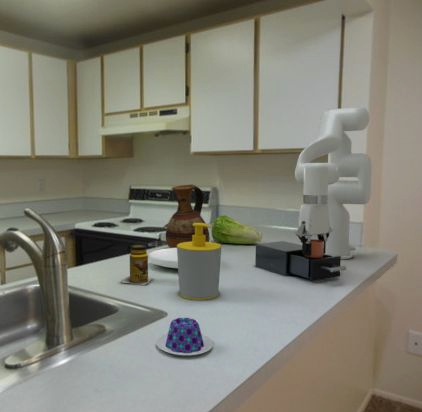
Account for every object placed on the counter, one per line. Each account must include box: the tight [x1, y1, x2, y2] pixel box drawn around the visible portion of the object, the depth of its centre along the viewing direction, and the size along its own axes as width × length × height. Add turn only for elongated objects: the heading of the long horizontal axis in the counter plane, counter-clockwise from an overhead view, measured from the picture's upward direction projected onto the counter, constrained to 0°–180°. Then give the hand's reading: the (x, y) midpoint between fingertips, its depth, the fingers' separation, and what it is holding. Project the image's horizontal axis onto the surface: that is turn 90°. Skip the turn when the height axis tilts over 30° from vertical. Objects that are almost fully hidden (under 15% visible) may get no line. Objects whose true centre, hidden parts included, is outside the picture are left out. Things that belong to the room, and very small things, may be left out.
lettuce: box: [211, 214, 263, 245], centre depth 201 cm, size 14×24×14 cm
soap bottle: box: [177, 222, 222, 301], centre depth 121 cm, size 13×13×21 cm
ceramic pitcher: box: [165, 184, 210, 248], centre depth 186 cm, size 20×20×30 cm
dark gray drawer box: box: [254, 240, 302, 277], centre depth 150 cm, size 16×14×9 cm
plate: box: [148, 247, 178, 269], centre depth 157 cm, size 28×6×27 cm
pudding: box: [155, 317, 214, 356], centre depth 86 cm, size 12×12×5 cm
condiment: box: [121, 244, 152, 286], centre depth 136 cm, size 7×8×12 cm
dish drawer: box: [287, 252, 347, 282], centre depth 137 cm, size 19×12×7 cm, turn 25°
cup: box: [304, 238, 324, 258], centre depth 137 cm, size 6×6×5 cm
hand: (313, 253), depth 138 cm, fingers closed on cup, 6 cm apart
